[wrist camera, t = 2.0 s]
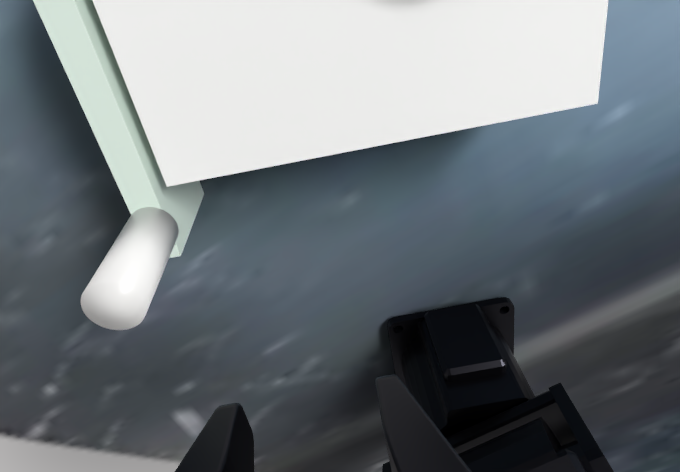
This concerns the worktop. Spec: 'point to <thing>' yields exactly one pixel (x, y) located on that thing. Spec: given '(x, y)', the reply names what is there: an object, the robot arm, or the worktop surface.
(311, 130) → the instrument case
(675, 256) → the worktop surface
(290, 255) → the worktop surface
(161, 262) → the side door
